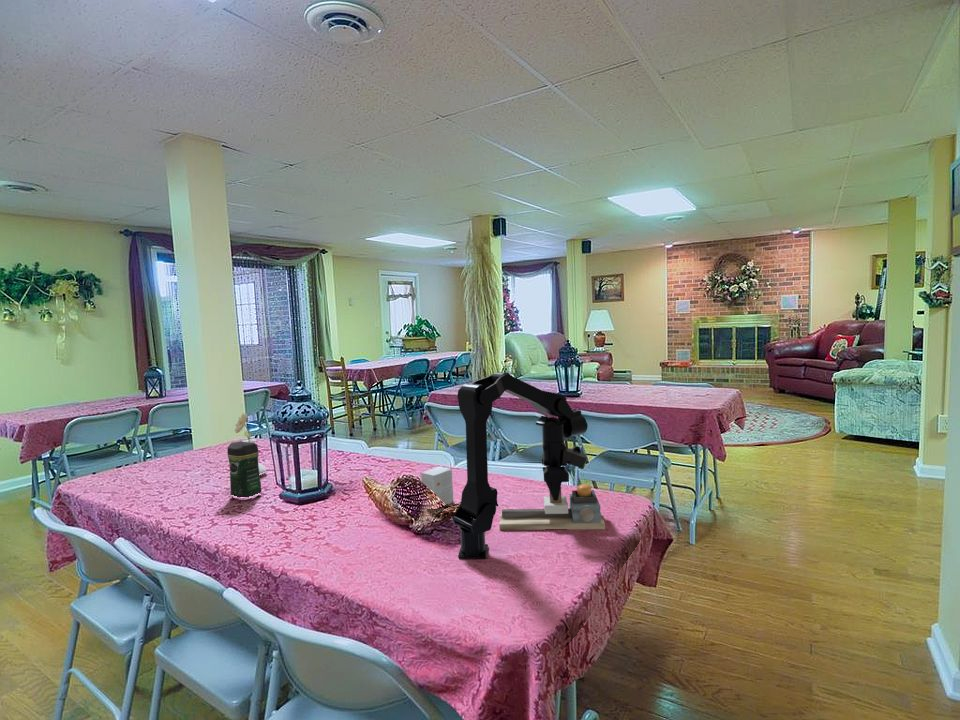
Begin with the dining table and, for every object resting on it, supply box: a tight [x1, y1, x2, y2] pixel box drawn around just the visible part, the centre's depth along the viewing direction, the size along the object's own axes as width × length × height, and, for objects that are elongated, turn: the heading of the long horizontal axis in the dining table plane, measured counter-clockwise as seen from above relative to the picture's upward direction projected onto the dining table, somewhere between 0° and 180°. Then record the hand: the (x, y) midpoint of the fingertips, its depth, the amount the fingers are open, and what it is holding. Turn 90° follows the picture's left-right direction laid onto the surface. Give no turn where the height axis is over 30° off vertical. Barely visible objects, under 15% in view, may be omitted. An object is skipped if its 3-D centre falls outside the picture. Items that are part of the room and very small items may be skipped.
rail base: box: [499, 489, 606, 531], centre depth 134 cm, size 10×27×8 cm, turn 85°
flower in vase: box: [234, 412, 268, 474], centre depth 188 cm, size 13×11×25 cm
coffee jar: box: [227, 440, 262, 497], centre depth 165 cm, size 10×8×19 cm
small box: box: [420, 465, 454, 505], centre depth 150 cm, size 8×6×10 cm
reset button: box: [576, 483, 592, 497], centre depth 132 cm, size 4×4×2 cm
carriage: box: [543, 486, 569, 514], centre depth 133 cm, size 7×6×6 cm
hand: (555, 498), depth 133 cm, fingers closed on carriage, 3 cm apart
